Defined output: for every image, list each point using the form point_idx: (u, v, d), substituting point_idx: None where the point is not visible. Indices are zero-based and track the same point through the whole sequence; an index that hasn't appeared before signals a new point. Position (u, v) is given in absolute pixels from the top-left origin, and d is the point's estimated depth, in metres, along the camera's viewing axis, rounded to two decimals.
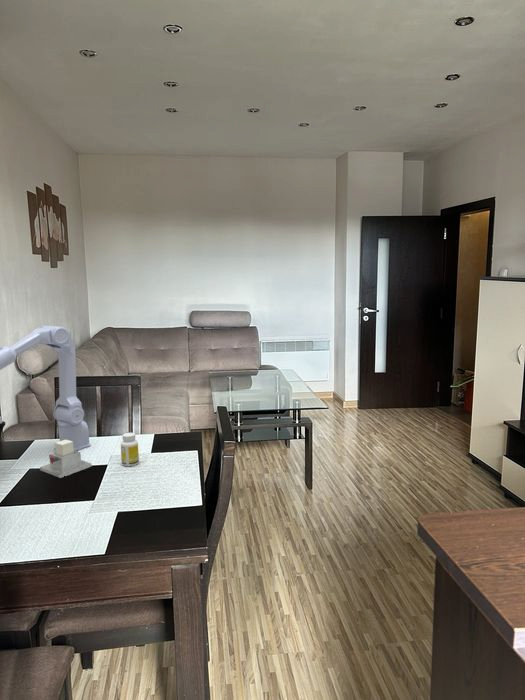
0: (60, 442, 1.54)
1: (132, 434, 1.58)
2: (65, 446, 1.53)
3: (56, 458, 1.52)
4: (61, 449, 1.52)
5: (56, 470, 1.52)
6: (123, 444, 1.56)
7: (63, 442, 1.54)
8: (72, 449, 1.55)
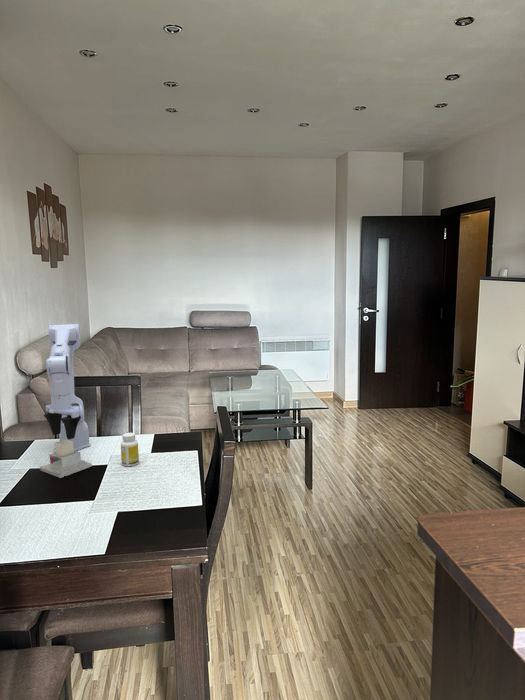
0: (60, 442, 1.54)
1: (132, 434, 1.58)
2: (65, 446, 1.53)
3: (56, 458, 1.52)
4: (61, 449, 1.52)
5: (56, 470, 1.52)
6: (123, 444, 1.56)
7: (63, 442, 1.54)
8: (72, 449, 1.55)
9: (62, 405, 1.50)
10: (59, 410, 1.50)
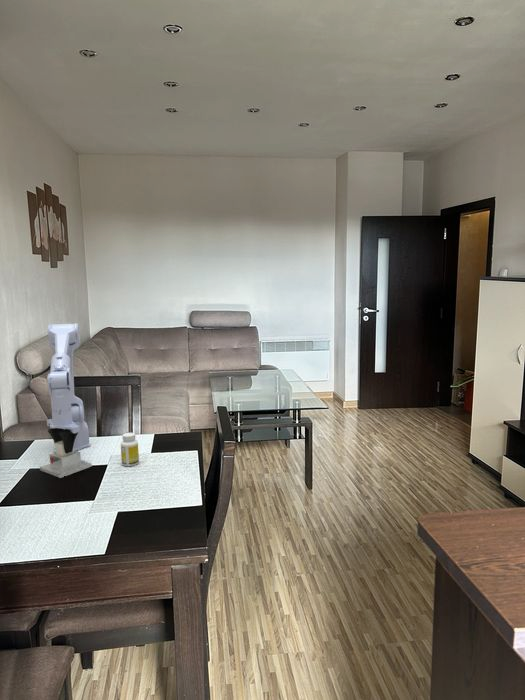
0: (60, 442, 1.54)
1: (132, 434, 1.58)
2: None
3: (56, 458, 1.52)
4: (61, 449, 1.52)
5: (56, 470, 1.52)
6: (123, 444, 1.56)
7: None
8: None
9: (63, 420, 1.51)
10: (60, 425, 1.51)
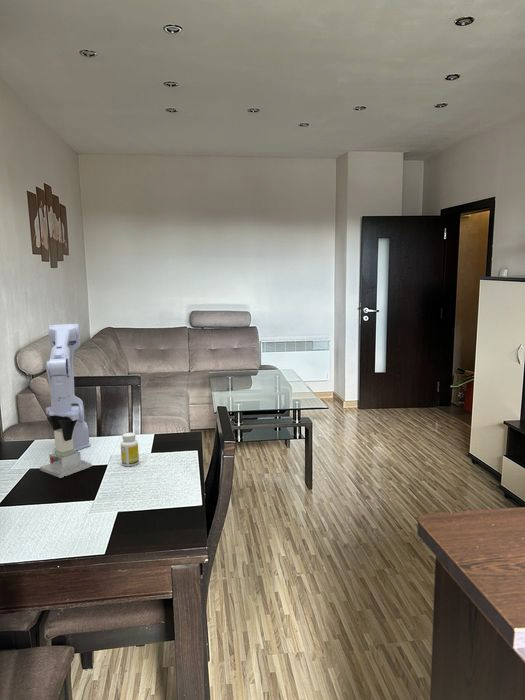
0: (59, 430, 1.54)
1: (132, 434, 1.58)
2: None
3: (56, 458, 1.52)
4: (60, 437, 1.52)
5: (56, 470, 1.52)
6: (123, 444, 1.56)
7: None
8: None
9: (62, 408, 1.50)
10: (59, 413, 1.50)
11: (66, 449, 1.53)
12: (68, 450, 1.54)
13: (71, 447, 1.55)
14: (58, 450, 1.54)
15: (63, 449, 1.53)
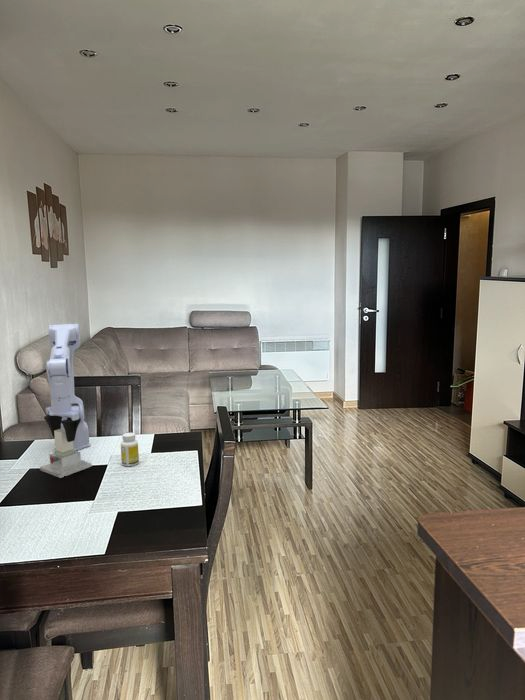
0: (59, 430, 1.54)
1: (132, 434, 1.58)
2: (64, 433, 1.52)
3: (56, 458, 1.52)
4: (60, 437, 1.52)
5: (56, 470, 1.52)
6: (123, 444, 1.56)
7: (62, 430, 1.54)
8: None
9: (62, 408, 1.50)
10: (59, 413, 1.50)
11: (66, 449, 1.53)
12: (68, 450, 1.54)
13: (71, 447, 1.55)
14: (58, 450, 1.54)
15: (63, 449, 1.53)
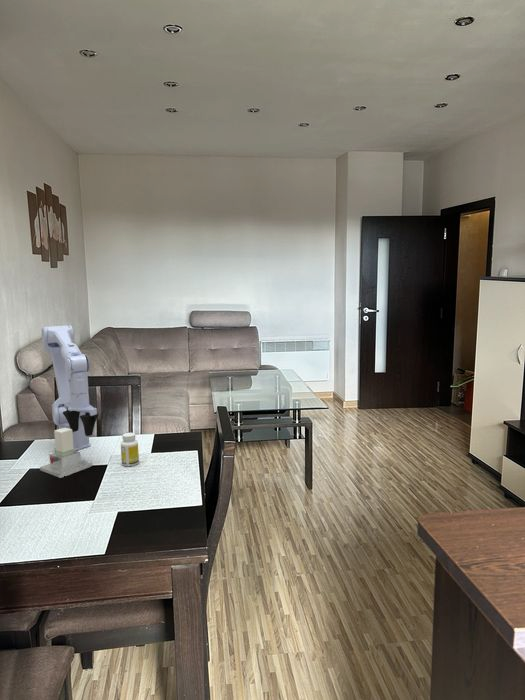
0: (59, 430, 1.54)
1: (132, 434, 1.58)
2: (64, 433, 1.52)
3: (56, 458, 1.52)
4: (60, 437, 1.52)
5: (56, 470, 1.52)
6: (123, 444, 1.56)
7: (62, 430, 1.54)
8: (71, 437, 1.55)
9: (81, 403, 1.56)
10: (78, 408, 1.55)
11: (66, 449, 1.53)
12: (68, 450, 1.54)
13: (71, 447, 1.55)
14: (58, 450, 1.54)
15: (63, 449, 1.53)
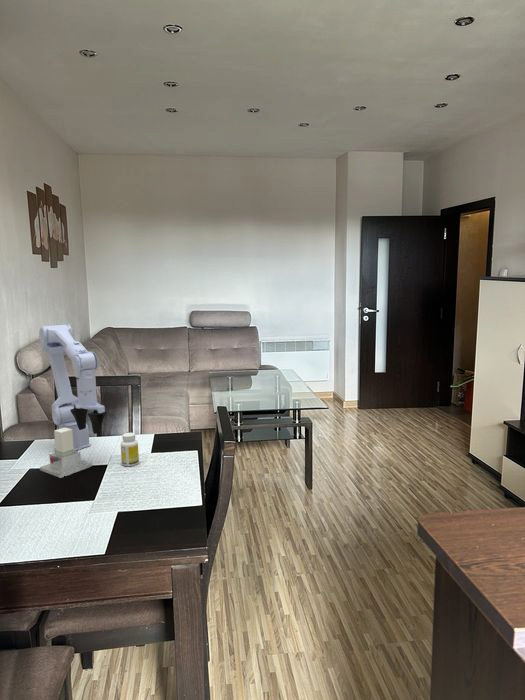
0: (59, 430, 1.54)
1: (132, 434, 1.58)
2: (64, 433, 1.52)
3: (56, 458, 1.52)
4: (60, 437, 1.52)
5: (56, 470, 1.52)
6: (123, 444, 1.56)
7: (62, 430, 1.54)
8: (71, 437, 1.55)
9: (89, 401, 1.56)
10: (86, 405, 1.55)
11: (66, 449, 1.53)
12: (68, 450, 1.54)
13: (71, 447, 1.55)
14: (58, 450, 1.54)
15: (63, 449, 1.53)
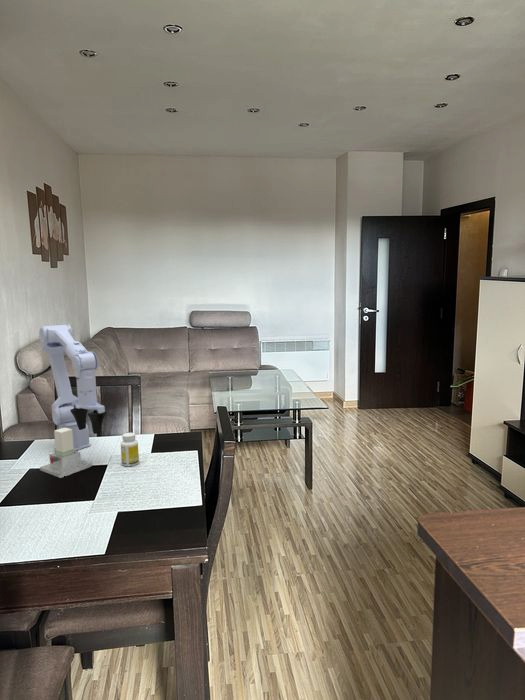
0: (59, 430, 1.54)
1: (132, 434, 1.58)
2: (64, 433, 1.52)
3: (56, 458, 1.52)
4: (60, 437, 1.52)
5: (56, 470, 1.52)
6: (123, 444, 1.56)
7: (62, 430, 1.54)
8: (71, 437, 1.55)
9: (89, 401, 1.56)
10: (86, 405, 1.55)
11: (66, 449, 1.53)
12: (68, 450, 1.54)
13: (71, 447, 1.55)
14: (58, 450, 1.54)
15: (63, 449, 1.53)
